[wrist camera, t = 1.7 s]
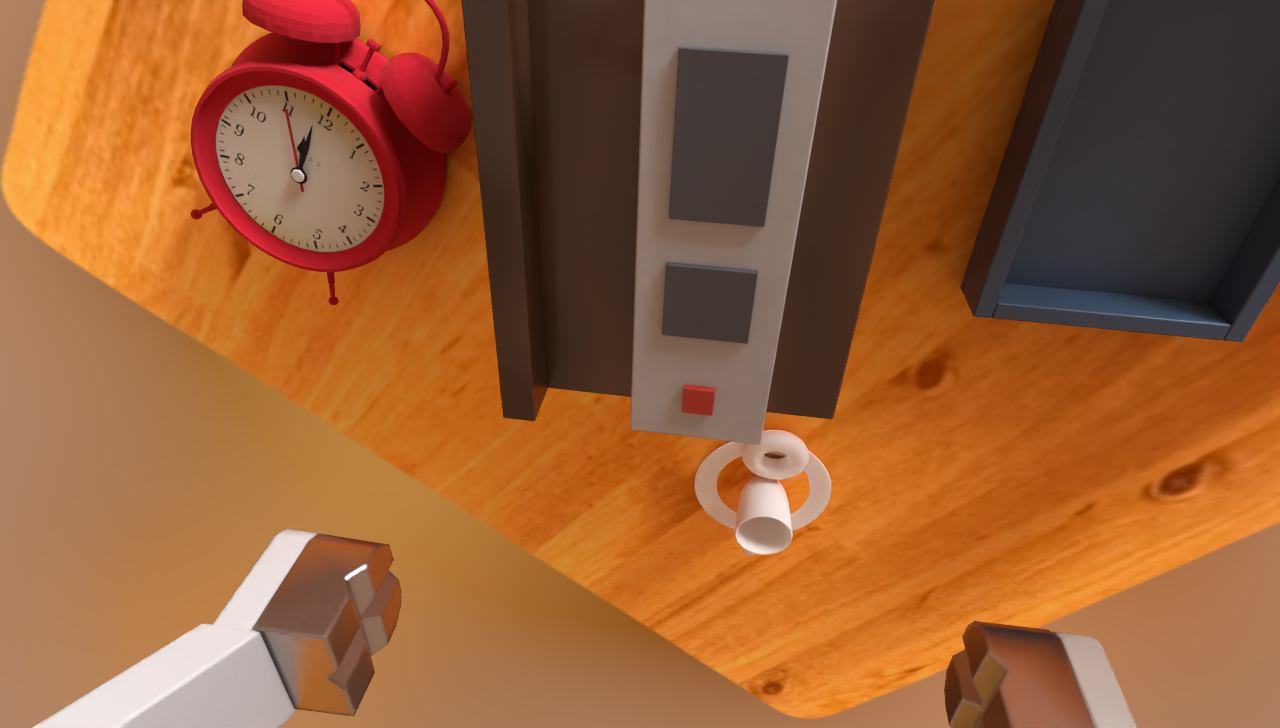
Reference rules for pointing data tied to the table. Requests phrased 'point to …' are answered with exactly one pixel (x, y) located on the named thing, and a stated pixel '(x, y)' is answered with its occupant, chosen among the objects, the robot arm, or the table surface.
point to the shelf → (608, 191)
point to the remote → (719, 204)
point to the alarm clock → (326, 138)
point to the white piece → (764, 490)
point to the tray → (1140, 173)
